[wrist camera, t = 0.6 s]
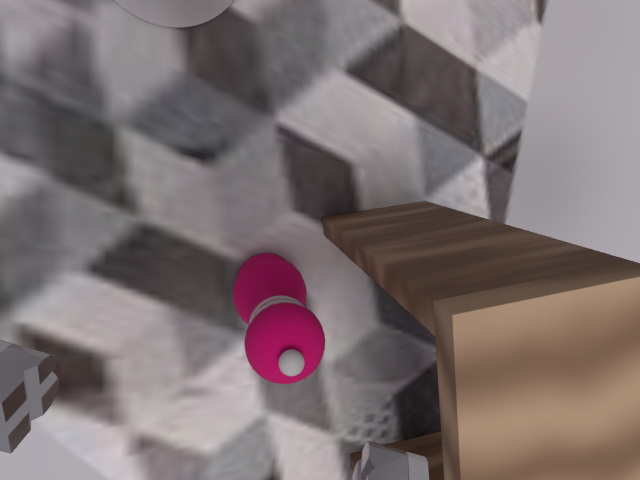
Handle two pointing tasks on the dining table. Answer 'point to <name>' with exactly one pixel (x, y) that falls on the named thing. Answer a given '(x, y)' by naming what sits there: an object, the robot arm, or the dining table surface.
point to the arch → (511, 342)
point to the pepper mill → (277, 320)
